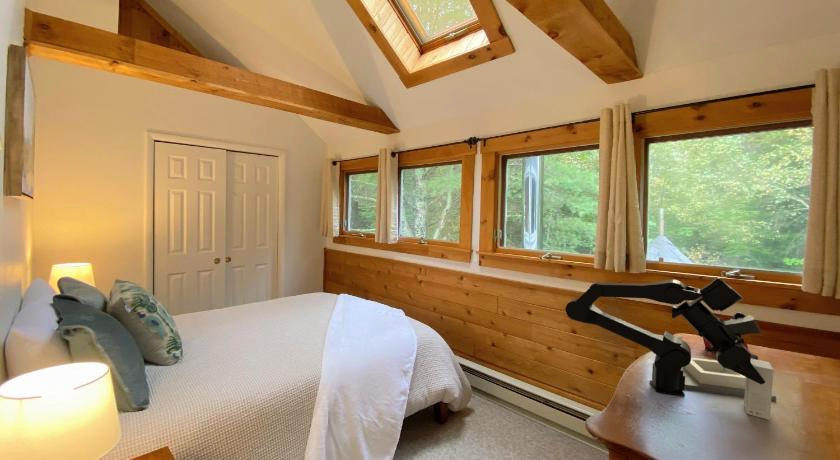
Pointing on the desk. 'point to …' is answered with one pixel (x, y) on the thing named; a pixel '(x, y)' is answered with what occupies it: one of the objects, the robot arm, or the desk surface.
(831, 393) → the desk surface
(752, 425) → the desk surface
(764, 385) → the skincare box
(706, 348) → the handheld game console
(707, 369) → the socket board
